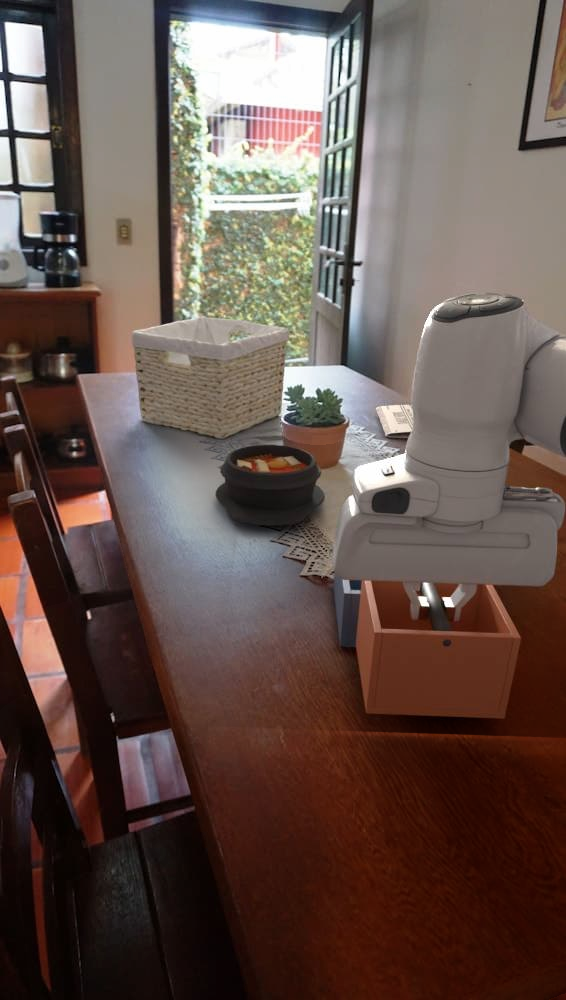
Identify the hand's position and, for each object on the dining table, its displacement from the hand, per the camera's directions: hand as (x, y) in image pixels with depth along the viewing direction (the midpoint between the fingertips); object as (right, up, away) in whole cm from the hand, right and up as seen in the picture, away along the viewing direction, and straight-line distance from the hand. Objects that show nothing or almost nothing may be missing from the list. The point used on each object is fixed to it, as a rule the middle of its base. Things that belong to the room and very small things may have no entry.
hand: (433, 617), depth 66 cm
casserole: (-17, +10, +51) cm, 55 cm away
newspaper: (+15, +29, +97) cm, 103 cm away
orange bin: (0, -7, +3) cm, 7 cm away
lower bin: (0, -4, +19) cm, 19 cm away
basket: (-31, +30, +96) cm, 106 cm away
